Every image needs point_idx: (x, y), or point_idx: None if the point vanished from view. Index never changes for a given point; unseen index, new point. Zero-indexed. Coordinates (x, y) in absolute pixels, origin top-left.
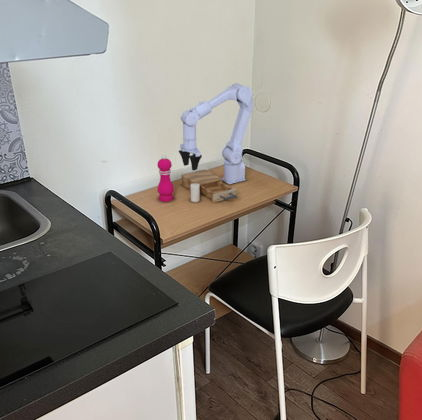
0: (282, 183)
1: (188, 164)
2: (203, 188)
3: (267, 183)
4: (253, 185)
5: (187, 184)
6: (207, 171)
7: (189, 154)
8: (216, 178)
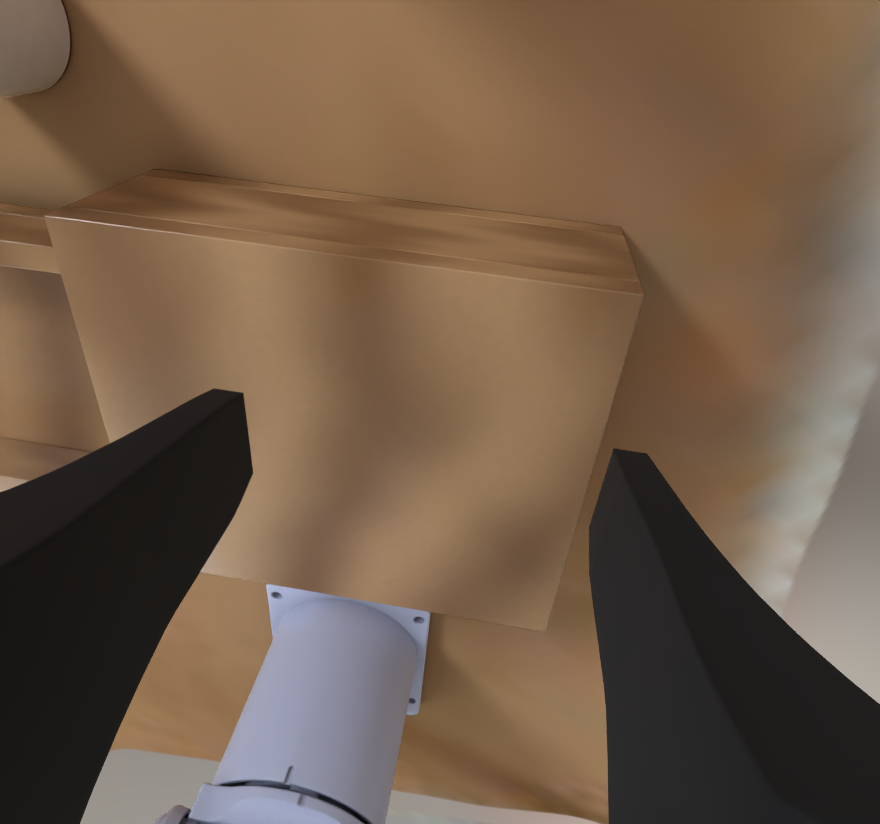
0: (126, 743)
1: (589, 535)
2: (7, 237)
3: (163, 710)
4: (169, 651)
5: (435, 223)
6: (451, 606)
7: (612, 809)
8: None
